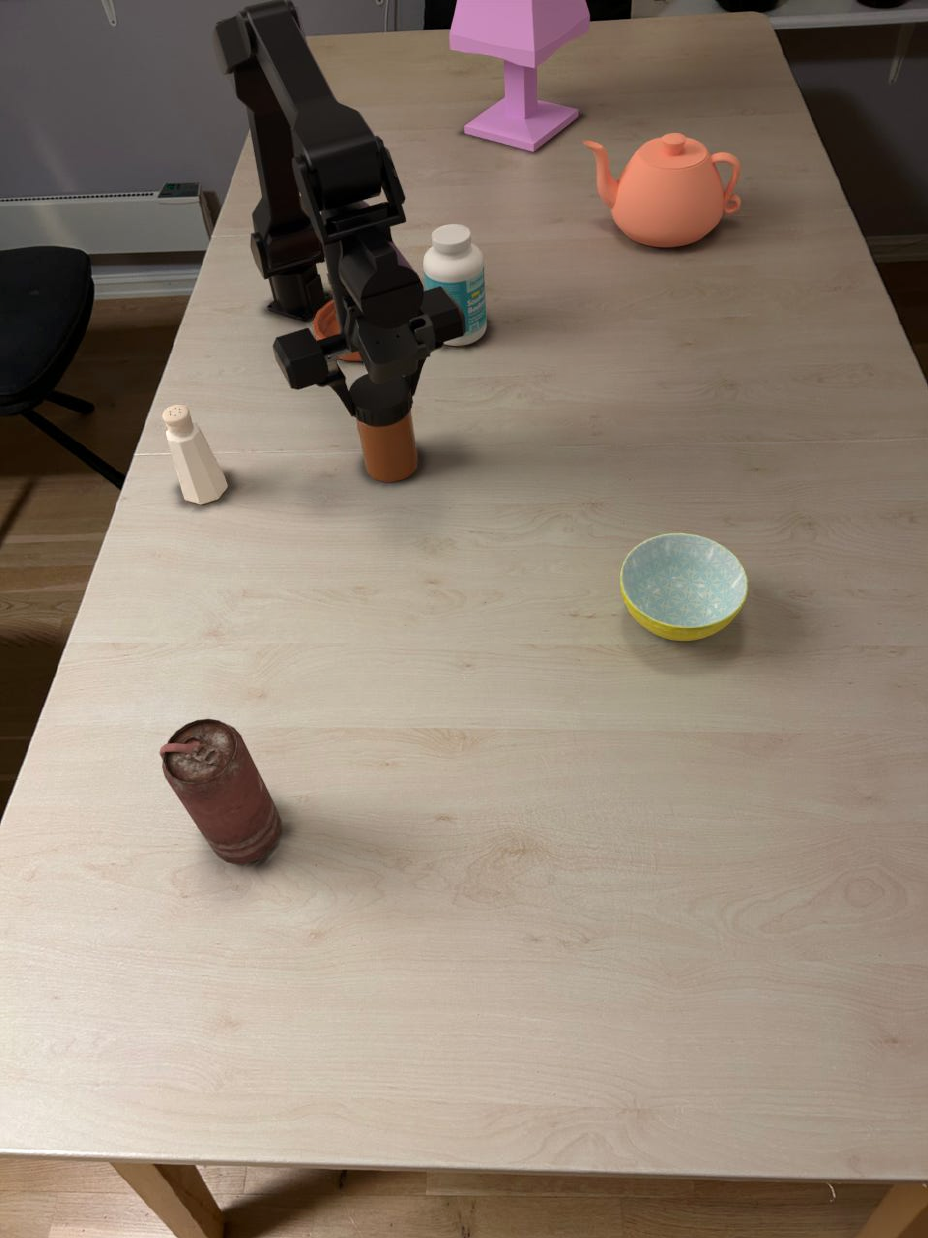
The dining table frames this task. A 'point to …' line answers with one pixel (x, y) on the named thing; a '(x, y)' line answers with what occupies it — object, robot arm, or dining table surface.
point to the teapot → (667, 190)
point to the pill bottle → (458, 277)
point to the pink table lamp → (519, 62)
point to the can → (221, 790)
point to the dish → (330, 327)
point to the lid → (381, 400)
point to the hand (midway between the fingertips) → (381, 403)
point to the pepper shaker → (193, 458)
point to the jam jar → (389, 449)
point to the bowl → (683, 586)
